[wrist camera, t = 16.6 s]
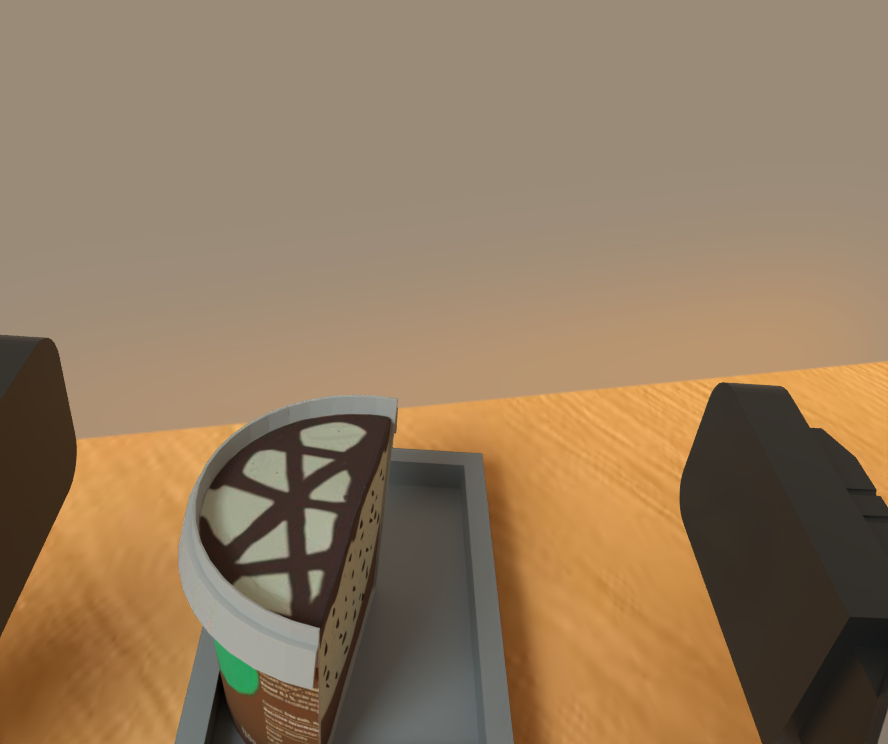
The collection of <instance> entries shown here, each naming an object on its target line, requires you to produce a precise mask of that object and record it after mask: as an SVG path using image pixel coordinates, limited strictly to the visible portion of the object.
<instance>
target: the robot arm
mask: <svg viewBox="0 0 888 744" xmlns="http://www.w3.org/2000/svg"><path fill="white" fill-rule="evenodd" d="M76 456H77V445H76V436H75V431H74V426H73V422H72V416H71V412H70V406H69V402H68V397H67V392H66V387H65V382H64V377H63V372H62V367H61V362H60V357H59V353H58V350H57V348H56V345H55V343H54V342H53V341H52V340H51V339H49V338H40V337H25V336H9V335H0V636H1V634H2V632H3V630H4V628H5V626H6V624H7V621H8V619H9V617H10V615H11V613H12V611H13V609H14V607H15V604H16V602H17V600H18V598H19V596H20V594H21V592H22V590H23V588H24V585H25V583H26V581H27V579H28V577H29V575H30V573H31V571H32V568H33V566H34V564H35V562H36V560H37V558H38V556H39V554H40V551H41V549H42V547H43V545H44V543H45V541H46V539H47V537H48V534H49V532H50V530H51V528H52V526H53V524H54V522H55V520H56V517H57V515H58V513H59V511H60V509H61V507H62V505H63V503H64V501H65V498H66V496H67V494H68V492H69V490H70V487H71V484H72V481H73V477H74V473H75V467H76ZM680 510H681V516H682V520H683V523H684V526H685V529H686V532H687V535H688V537H689V540H690V543H691V546H692V549H693V551H694V554H695V557H696V560H697V563H698V565H699V568H700V571H701V574H702V577H703V579H704V582H705V585H706V588H707V591H708V593H709V596H710V599H711V602H712V604H713V607H714V610H715V613H716V616H717V618H718V621H719V624H720V627H721V630H722V632H723V635H724V638H725V641H726V644H727V646H728V649H729V652H730V655H731V658H732V660H733V663H734V666H735V669H736V671H737V674H738V677H739V680H740V683H741V685H742V688H743V691H744V694H745V697H746V699H747V702H748V705H749V708H750V711H751V713H752V716H753V719H754V722H755V725H756V727H757V730H758V733H759V736H760V739H761V741H762V744H888V507H887V505H886V504H885V502H884V501H883V499H882V498H881V496H876V488H875V487H874V485H873V484H872V482H871V480H870V479H869V477H868V476H867V474H866V473H865V471H864V469H863V468H862V466H861V465H860V463H859V462H858V460H857V459H856V457H855V456H854V455H852V454H851V453H850V452H849V451H848V450H846V449H845V448H844V447H843V446H842V445H841V444H839V443H838V442H837V441H836V440H835V439H834V438H832V437H831V436H830V435H829V434H828V433H827V432H825V431H824V430H823V429H822V428H810V427H809V425H808V424H807V422H806V420H805V419H804V417H803V415H802V414H801V412H800V410H799V409H798V407H797V405H796V404H795V402H794V400H793V399H792V397H791V395H790V394H789V392H788V391H787V390H786V389H785V388H784V387H781V386H771V385H755V384H740V383H724V382H722V383H719V384H718V385H717V386H716V387H715V388H714V390H713V391H712V393H711V395H710V398H709V401H708V403H707V406H706V409H705V412H704V415H703V417H702V420H701V423H700V426H699V429H698V431H697V434H696V437H695V440H694V443H693V445H692V448H691V451H690V454H689V457H688V459H687V462H686V465H685V468H684V471H683V474H682V478H681V484H680Z"/></svg>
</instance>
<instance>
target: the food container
mask: <svg viewBox="0 0 888 744" xmlns="http://www.w3.org/2000/svg"><path fill="white" fill-rule="evenodd" d="M397 402H398V399H397V398H390V397H382V396H370V395H343V396H329V397H323V398H317V399H310V400H306V401H302V402H299V403H294V404H291V405H287V406H285V407H282V408H279V409H277V410H274V411H272V412H269V413H267V414H265V415H263V416H261V417H259V418H257V419H255V420H253V421H251V422H249V423H248V424H246V425H245V426H244V427H242V428H241V429H239V430H238V431H237V432H235V433H234V434H232V435H231V436H230V437H229V438H228V439H227V440H226V441H225V442H224V443H223V444H222V445H221V446H220V447H219V448H218V449H217V450H216V451H215V453H214V454H213V455H212V457H211V458H210V459H209V461H208V462H207V464H206V465H205V467H204V469H203V471H202V473H201V474H200V476H199V477H198V479H197V481H196V483H195V486H194V488H193V490H192V492H191V494H190V496H189V501H188V505H187V509H186V513H185V518H184V523H183V527H182V532H181V537H180V541H179V547H178V569H179V573H180V578H181V582H182V587H183V591H184V593H185V595H186V597H187V600H188V602H189V604H190V606H191V608H192V610H193V613H194V614H195V615H196V617H197V618H198V619H199V621H200V622H201V623H202V625H203V626H204V628H205V629H206V630H207V632H208V633H209V634H210V635H211V636H212V637H213V638H214V643H215V648H216V653H217V658H218V663H219V668H220V673H221V678H222V683H223V688H224V693H225V698H226V702H227V706H228V710H229V714H230V717H231V719H232V721H233V723H234V726H235V728H236V730H237V732H238V733H239V735H240V736H241V738H242V739H243V740H244V742H245V743H246V744H332V741H333V737H334V734H335V730H336V727H337V723H338V720H339V716H340V713H341V709H342V706H343V702H344V699H345V695H346V692H347V688H348V685H349V681H350V678H351V674H352V671H353V667H354V664H355V660H356V657H357V653H358V650H359V646H360V642H361V639H362V635H363V632H364V628H365V625H366V621H367V618H368V614H369V611H370V607H371V604H372V600H373V597H374V593H375V590H376V584H377V576H378V567H379V559H380V550H381V541H382V533H383V524H384V515H385V507H386V498H387V490H388V481H389V472H390V464H391V455H392V447H393V438H394V433H396V430H397V413H398V408H397Z"/></svg>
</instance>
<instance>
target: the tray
mask: <svg viewBox="0 0 888 744" xmlns="http://www.w3.org/2000/svg"><path fill="white" fill-rule="evenodd" d="M175 744H246V743H245V742H244V740H243V739H242V738H241V736H240V735H239V733H238V732H237V730H236V728H235V726H234V723H233V721H232V719H231V717H230V714H229V710H228V706H227V702H226V698H225V693H224V688H223V683H222V678H221V673H220V668H219V663H218V658H217V653H216V648H215V643H214V638H213V637H212V636H211V635H210V634H209V633H208V632H207V630H206V629H205V628H204V626H203V628H202V632H201V636H200V640H199V644H198V649H197V653H196V657H195V661H194V665H193V669H192V673H191V678H190V682H189V686H188V690H187V694H186V698H185V702H184V706H183V711H182V715H181V719H180V723H179V727H178V731H177V735H176V739H175ZM332 744H514V740H513V731H512V722H511V713H510V704H509V694H508V685H507V676H506V667H505V658H504V649H503V639H502V630H501V621H500V612H499V603H498V593H497V584H496V575H495V566H494V557H493V547H492V538H491V529H490V520H489V511H488V502H487V492H486V483H485V474H484V465H483V456H482V453H465V452H449V451H433V450H417V449H401V448H392V455H391V464H390V472H389V481H388V490H387V498H386V507H385V515H384V524H383V533H382V541H381V550H380V559H379V567H378V576H377V584H376V590H375V593H374V597H373V600H372V604H371V607H370V611H369V614H368V618H367V621H366V625H365V628H364V632H363V635H362V639H361V642H360V646H359V650H358V653H357V657H356V660H355V664H354V667H353V671H352V674H351V678H350V681H349V685H348V688H347V692H346V695H345V699H344V702H343V706H342V709H341V713H340V716H339V720H338V723H337V727H336V730H335V734H334V737H333V741H332Z"/></svg>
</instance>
